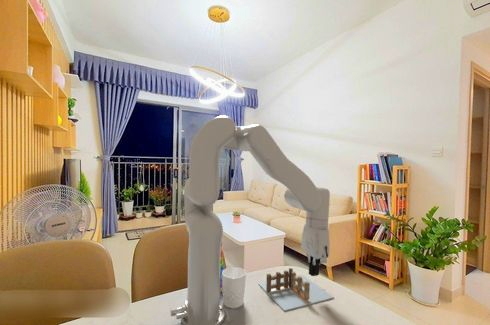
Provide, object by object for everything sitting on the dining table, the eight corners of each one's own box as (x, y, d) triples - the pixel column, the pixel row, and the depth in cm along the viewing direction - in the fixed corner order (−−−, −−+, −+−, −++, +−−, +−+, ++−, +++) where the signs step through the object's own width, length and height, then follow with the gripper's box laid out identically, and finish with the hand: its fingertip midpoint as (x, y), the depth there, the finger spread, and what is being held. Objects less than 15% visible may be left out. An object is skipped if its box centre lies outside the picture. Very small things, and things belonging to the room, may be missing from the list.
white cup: (241, 294, 86) (242, 266, 86) (248, 307, 78) (248, 276, 78) (219, 297, 84) (220, 268, 84) (223, 311, 76) (224, 279, 76)
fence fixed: (268, 294, 87) (268, 274, 87) (266, 292, 88) (266, 272, 88) (293, 288, 91) (293, 269, 91) (290, 286, 92) (291, 267, 92)
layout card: (284, 311, 77) (284, 310, 77) (258, 284, 93) (258, 283, 93) (333, 298, 85) (333, 296, 85) (301, 275, 101) (301, 274, 101)
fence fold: (290, 286, 90) (291, 271, 90) (293, 286, 90) (293, 271, 90) (306, 300, 82) (306, 283, 81) (309, 299, 82) (309, 282, 82)
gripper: (295, 218, 92) (292, 267, 92) (323, 228, 78) (319, 286, 78) (311, 217, 95) (308, 265, 95) (340, 227, 81) (337, 283, 81)
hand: (313, 274), depth 87 cm, fingers closed
